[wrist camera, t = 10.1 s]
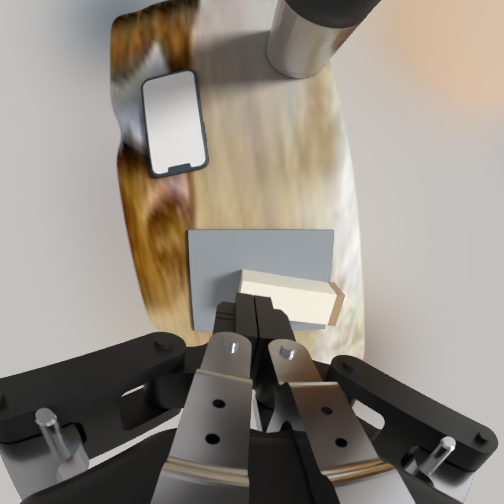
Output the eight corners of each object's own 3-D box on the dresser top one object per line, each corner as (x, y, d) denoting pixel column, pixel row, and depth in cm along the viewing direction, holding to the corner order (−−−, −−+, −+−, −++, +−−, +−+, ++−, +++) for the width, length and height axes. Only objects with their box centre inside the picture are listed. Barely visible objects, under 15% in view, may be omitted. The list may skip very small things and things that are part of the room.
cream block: (236, 313, 40) (335, 325, 41) (242, 280, 39) (344, 295, 40) (236, 298, 45) (326, 311, 46) (242, 268, 44) (334, 283, 45)
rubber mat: (188, 229, 42) (188, 230, 42) (333, 229, 43) (334, 230, 43) (195, 329, 47) (194, 331, 46) (323, 327, 48) (324, 328, 47)
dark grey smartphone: (142, 83, 37) (154, 179, 41) (139, 80, 35) (151, 179, 39) (197, 70, 37) (211, 167, 41) (195, 66, 35) (210, 166, 39)
